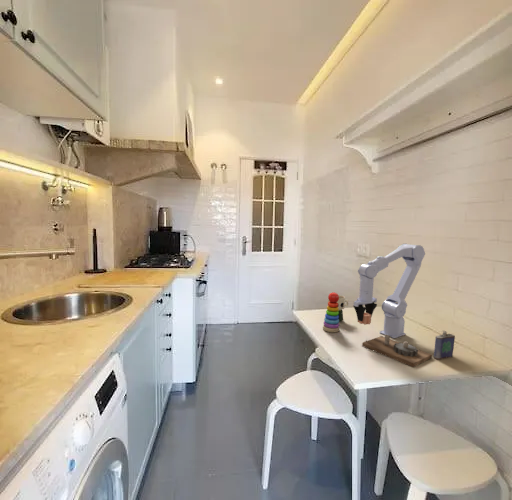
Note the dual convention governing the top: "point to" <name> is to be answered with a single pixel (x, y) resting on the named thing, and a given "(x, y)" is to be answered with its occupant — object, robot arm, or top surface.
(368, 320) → the terracotta gear
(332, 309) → the stacking toy
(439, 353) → the flask
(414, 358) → the board
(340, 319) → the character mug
